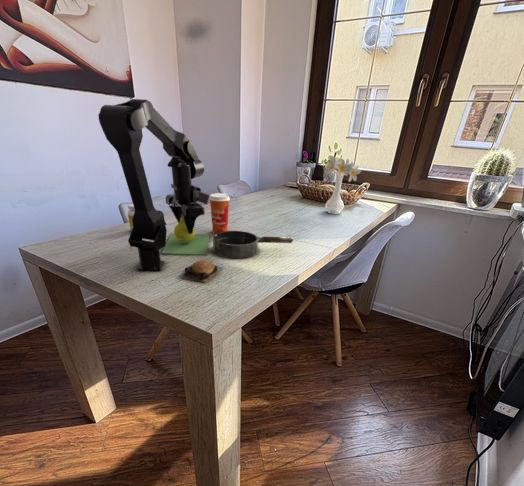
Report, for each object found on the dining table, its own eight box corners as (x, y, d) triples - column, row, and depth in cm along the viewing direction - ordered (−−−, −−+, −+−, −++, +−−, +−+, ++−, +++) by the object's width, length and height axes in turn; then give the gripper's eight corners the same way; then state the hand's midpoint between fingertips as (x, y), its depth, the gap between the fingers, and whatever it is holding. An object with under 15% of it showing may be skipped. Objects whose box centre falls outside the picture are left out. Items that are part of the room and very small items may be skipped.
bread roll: (197, 264, 95) (196, 253, 93) (222, 269, 93) (222, 257, 91) (178, 278, 86) (177, 265, 84) (205, 283, 84) (205, 270, 82)
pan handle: (256, 243, 104) (256, 237, 103) (255, 241, 106) (255, 235, 105) (293, 244, 106) (293, 238, 105) (292, 242, 107) (292, 236, 106)
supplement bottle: (143, 228, 121) (139, 202, 116) (147, 232, 117) (143, 206, 112) (129, 230, 118) (124, 204, 113) (132, 234, 115) (128, 207, 110)
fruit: (171, 241, 108) (169, 205, 103) (188, 240, 112) (187, 205, 108) (180, 244, 103) (179, 206, 99) (198, 243, 107) (197, 207, 103)
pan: (259, 259, 101) (259, 246, 98) (212, 258, 99) (211, 244, 97) (256, 243, 113) (257, 231, 111) (214, 242, 112) (214, 230, 110)
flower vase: (342, 218, 149) (354, 161, 136) (312, 210, 160) (320, 156, 147) (357, 214, 157) (369, 160, 144) (327, 207, 168) (336, 155, 155)
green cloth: (205, 255, 101) (205, 254, 101) (161, 254, 100) (161, 253, 100) (209, 235, 118) (209, 234, 118) (171, 234, 117) (171, 233, 116)
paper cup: (206, 233, 120) (204, 195, 113) (217, 228, 126) (216, 192, 118) (223, 237, 117) (222, 198, 110) (233, 232, 123) (234, 195, 116)
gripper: (218, 185, 95) (220, 235, 104) (193, 175, 108) (196, 220, 117) (184, 188, 90) (188, 240, 99) (162, 177, 103) (168, 224, 111)
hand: (186, 230), depth 106 cm, fingers closed on fruit, 7 cm apart
